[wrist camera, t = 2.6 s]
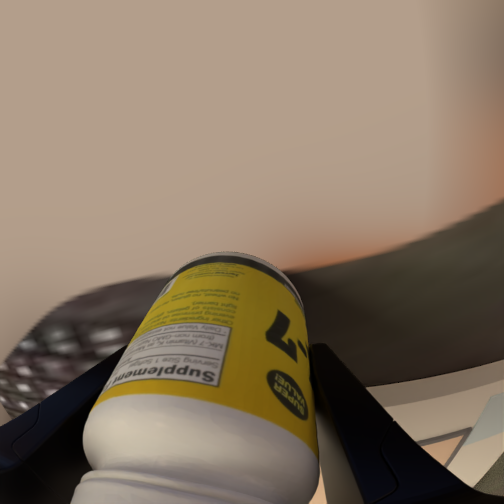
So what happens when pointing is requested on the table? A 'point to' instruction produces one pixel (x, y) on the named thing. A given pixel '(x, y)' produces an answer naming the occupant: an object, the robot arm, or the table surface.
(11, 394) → the table surface
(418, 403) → the colouring board
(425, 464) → the robot arm
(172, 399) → the supplement bottle
